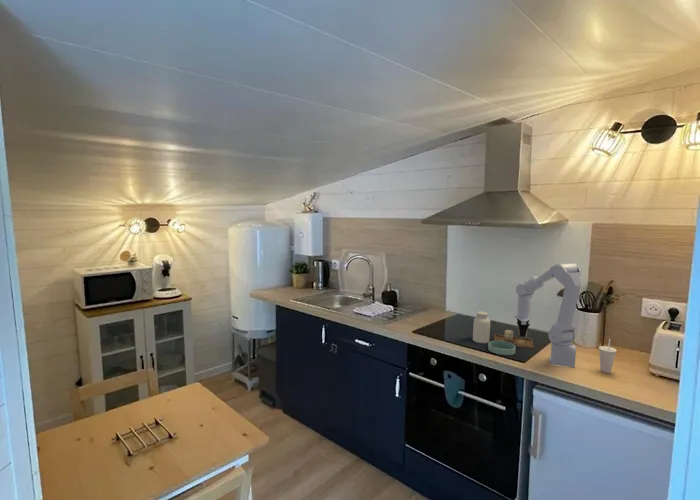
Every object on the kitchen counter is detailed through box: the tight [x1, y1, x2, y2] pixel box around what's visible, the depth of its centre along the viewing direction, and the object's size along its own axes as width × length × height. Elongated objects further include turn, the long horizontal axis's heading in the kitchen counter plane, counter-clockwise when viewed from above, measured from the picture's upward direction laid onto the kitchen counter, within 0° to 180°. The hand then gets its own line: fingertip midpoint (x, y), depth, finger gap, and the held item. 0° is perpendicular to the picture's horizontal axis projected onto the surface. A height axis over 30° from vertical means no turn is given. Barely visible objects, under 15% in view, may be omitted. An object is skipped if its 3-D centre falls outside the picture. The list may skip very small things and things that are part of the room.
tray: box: [493, 333, 534, 349], centre depth 196 cm, size 18×12×2 cm, turn 68°
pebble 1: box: [504, 329, 514, 342], centre depth 197 cm, size 4×4×5 cm
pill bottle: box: [472, 310, 491, 344], centre depth 197 cm, size 8×8×15 cm
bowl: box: [487, 340, 517, 356], centre depth 185 cm, size 12×12×3 cm
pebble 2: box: [517, 326, 528, 339], centre depth 191 cm, size 4×4×5 cm
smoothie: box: [598, 338, 618, 374], centre depth 163 cm, size 6×6×14 cm
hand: (522, 335), depth 192 cm, fingers closed on pebble 2, 4 cm apart
